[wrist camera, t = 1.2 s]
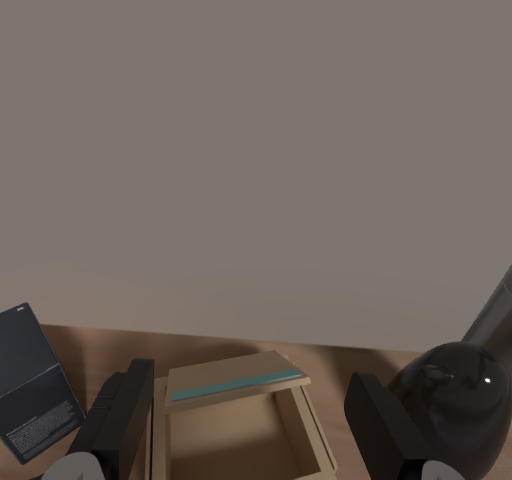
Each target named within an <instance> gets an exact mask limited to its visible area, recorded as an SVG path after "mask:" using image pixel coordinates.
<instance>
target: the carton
mask: <svg viewBox="0 0 512 480" xmlns="http://www.w3.org/2000/svg"><path fill="white" fill-rule="evenodd" d="M281 356H282V357H284V358H285V359H287V360H288V361H289V362H290V360H289V358H288V355H287V354H285V355H281ZM292 364H293V365H295V366H296V364H295V362H293V363H292ZM167 383H168V376H166V377H160V378H155V379H154V399H153V396H152V402H151V406H150V410H149V413H148V417H147V438H146V462H145V480H337V478H336V476H335V473H336V471H337V469H338V466H337V464H336V461H335V459H334V456H333V454H332V451H331V449H330V447H329V444H328V442H327V439H326V437H325V435H324V432H323V430H322V427H321V425H320V422H319V420H318V418H317V415H316V413H315V410H314V408H313V406H312V403H311V401H310V398H309V396H308V393H307V391H306V389H305V386H304V385H301V386H297V387H292V388H287V389H283V390H278V391H273V392H269V393H264V394H259V395H255V396H250V397H245V398H241V399H236V400H231V401H227V402H222V403H218V404H213V405H208V406H204V407H199V408H194V409H190V410H185V411H180V412H176V413H171V414H166V415H164V404H165V397H166V390H167Z"/></svg>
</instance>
